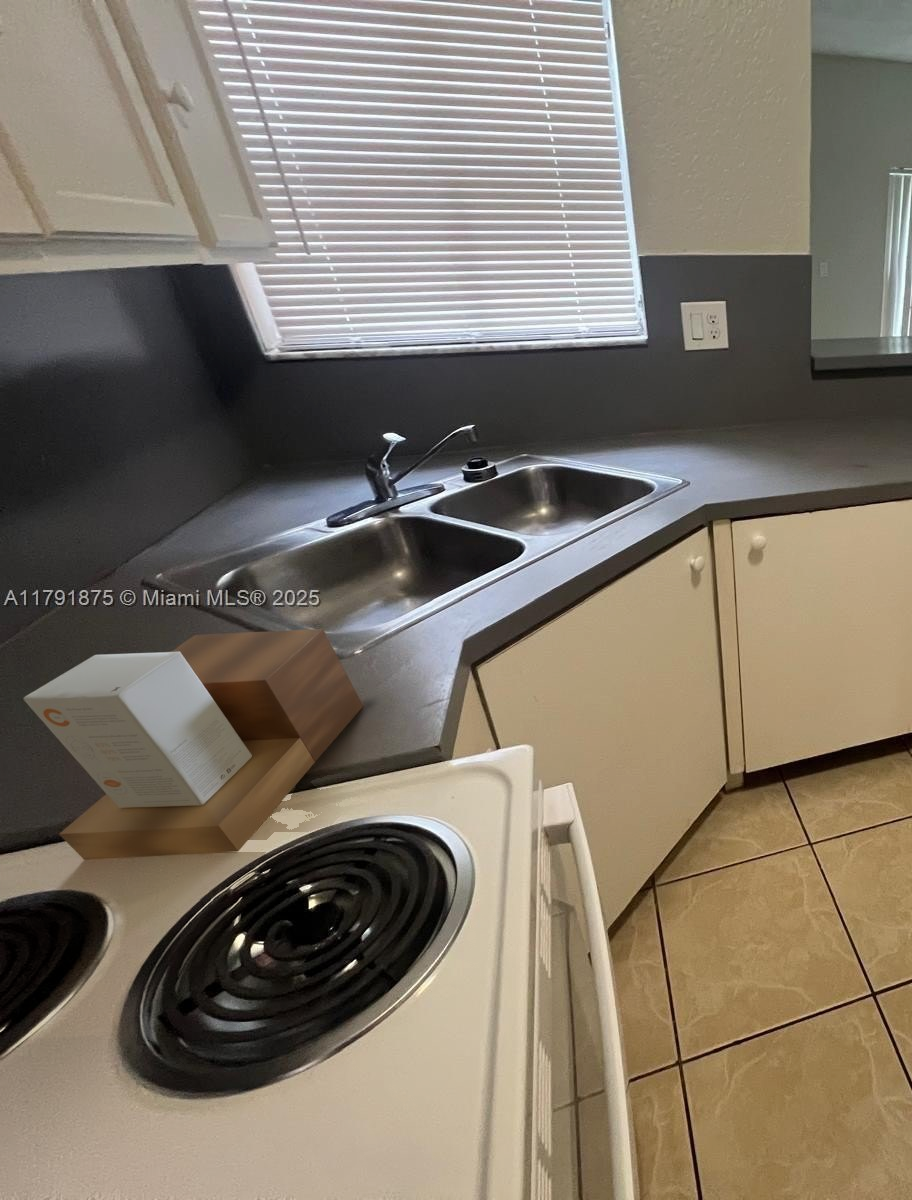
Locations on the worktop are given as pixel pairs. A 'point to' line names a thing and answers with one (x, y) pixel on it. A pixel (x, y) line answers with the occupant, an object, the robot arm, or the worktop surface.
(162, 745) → the small box
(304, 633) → the shelf stand
